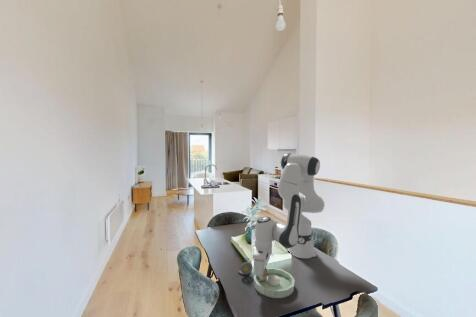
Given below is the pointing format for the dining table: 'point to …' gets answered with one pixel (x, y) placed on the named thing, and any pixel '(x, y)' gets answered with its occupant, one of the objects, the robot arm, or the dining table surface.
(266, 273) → the bead
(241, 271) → the pocket watch
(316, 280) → the dining table surface
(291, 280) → the groove tray
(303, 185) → the robot arm
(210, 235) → the dining table surface
